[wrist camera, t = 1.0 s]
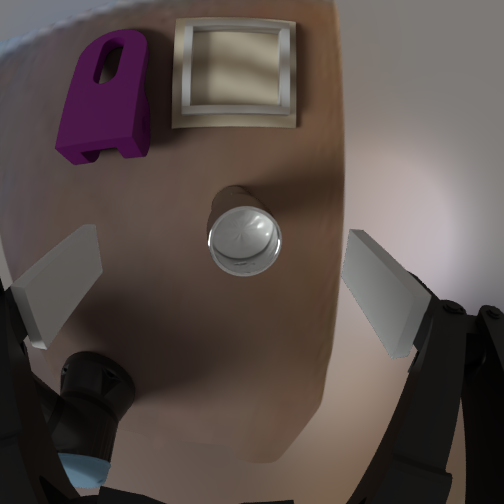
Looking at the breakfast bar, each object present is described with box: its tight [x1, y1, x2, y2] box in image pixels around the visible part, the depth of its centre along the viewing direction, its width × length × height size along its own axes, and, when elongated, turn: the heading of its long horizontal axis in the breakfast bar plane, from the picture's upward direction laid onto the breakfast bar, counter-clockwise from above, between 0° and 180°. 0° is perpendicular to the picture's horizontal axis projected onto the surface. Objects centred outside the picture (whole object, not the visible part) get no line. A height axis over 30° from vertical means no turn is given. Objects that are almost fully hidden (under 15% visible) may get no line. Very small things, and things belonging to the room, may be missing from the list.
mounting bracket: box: [55, 29, 150, 165], centre depth 31 cm, size 9×8×18 cm
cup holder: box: [172, 17, 296, 128], centre depth 32 cm, size 16×16×4 cm
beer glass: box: [207, 186, 282, 277], centre depth 33 cm, size 7×7×15 cm
